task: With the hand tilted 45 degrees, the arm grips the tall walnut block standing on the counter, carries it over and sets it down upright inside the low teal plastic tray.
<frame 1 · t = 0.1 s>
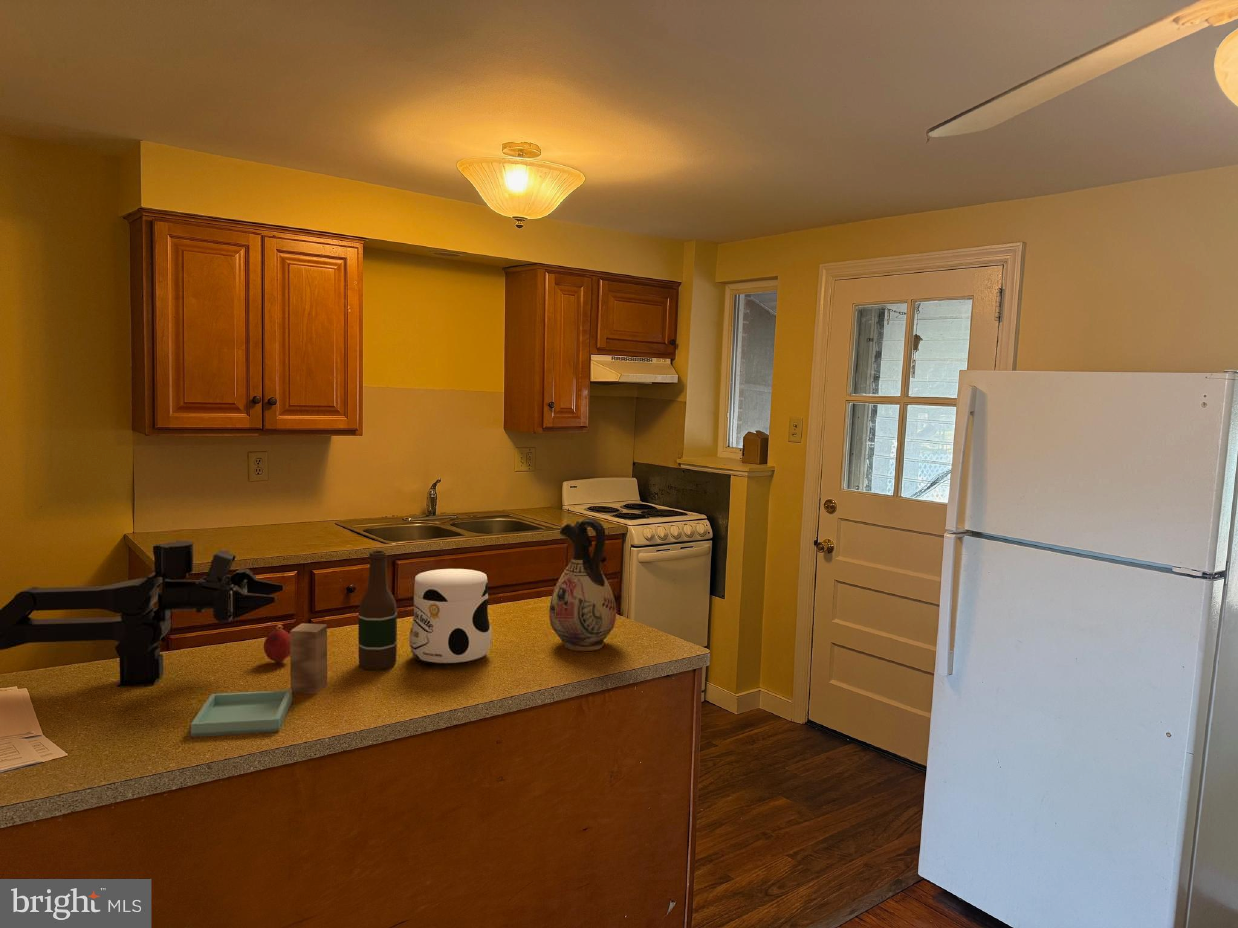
hand: (279, 593, 165), 17 cm above the counter, tool horizontal, fingers open, 9 cm apart
onion: (279, 663, 173), on the counter
teal tray: (244, 718, 145), on the counter
milk container: (450, 659, 179), on the counter
walnut block: (309, 688, 160), on the counter
ceramic jug: (584, 647, 190), on the counter
beer bottle: (377, 665, 174), on the counter
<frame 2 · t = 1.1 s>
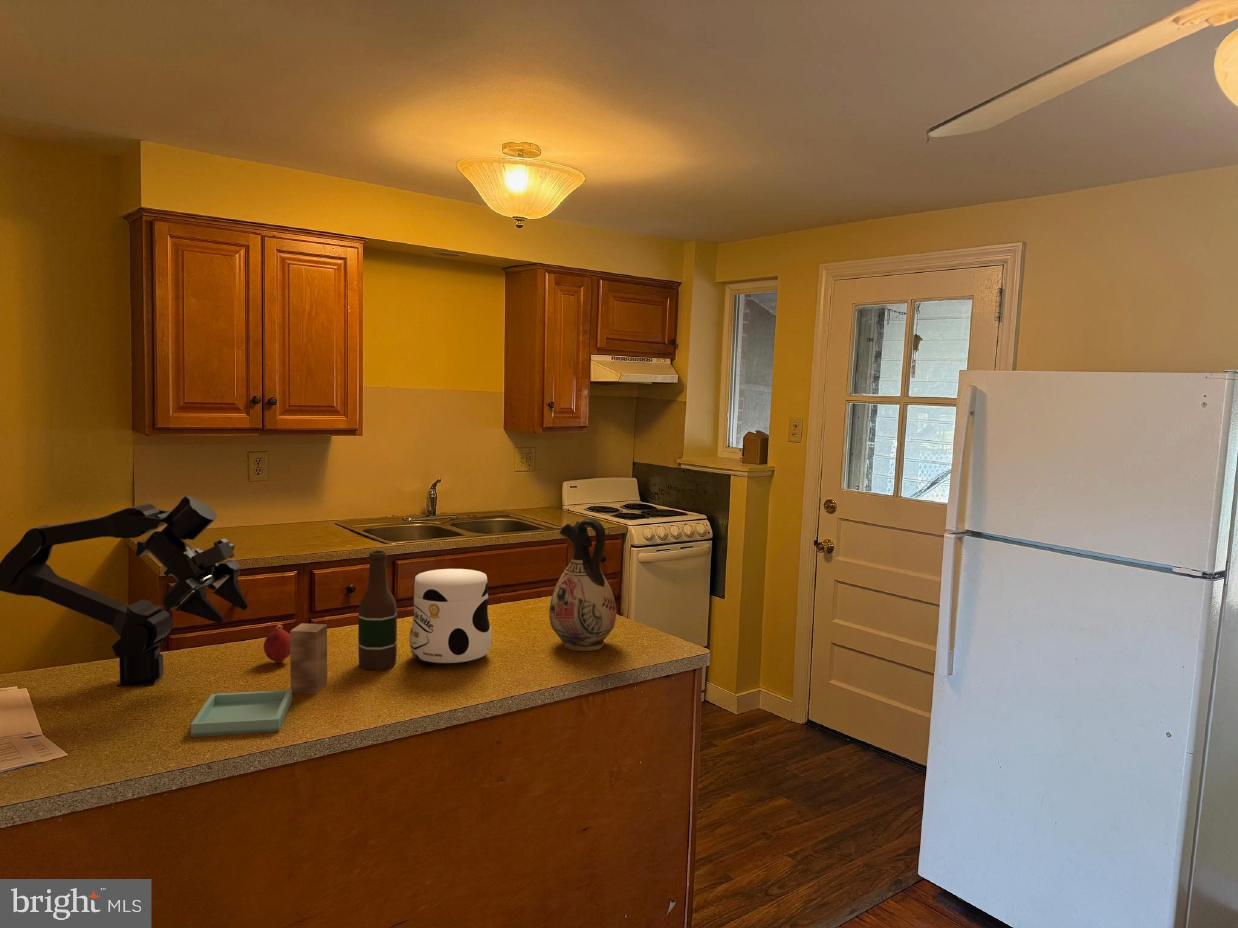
hand: (234, 614, 160), 14 cm above the counter, tool tilted 45°, fingers open, 9 cm apart
nothing on the counter moved.
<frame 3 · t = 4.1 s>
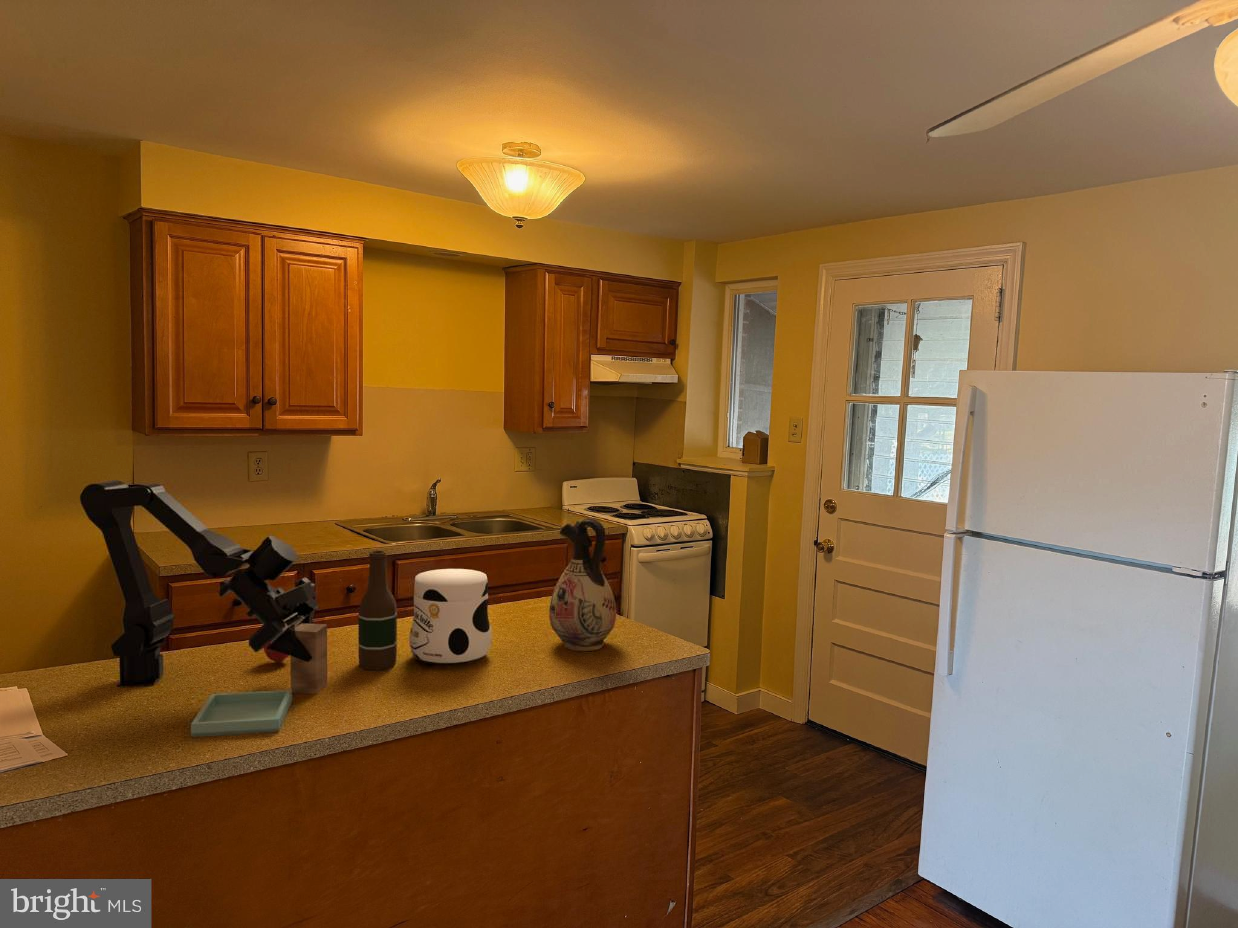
hand: (316, 655, 159), 7 cm above the counter, tool tilted 45°, fingers closed on walnut block, 5 cm apart
walnut block: (309, 688, 160), on the counter, touching gripper
everything else where it was.
when the fingers open (8 cm above the counter, at t = 7.7 s): walnut block drops 1 cm, resting on teal tray.
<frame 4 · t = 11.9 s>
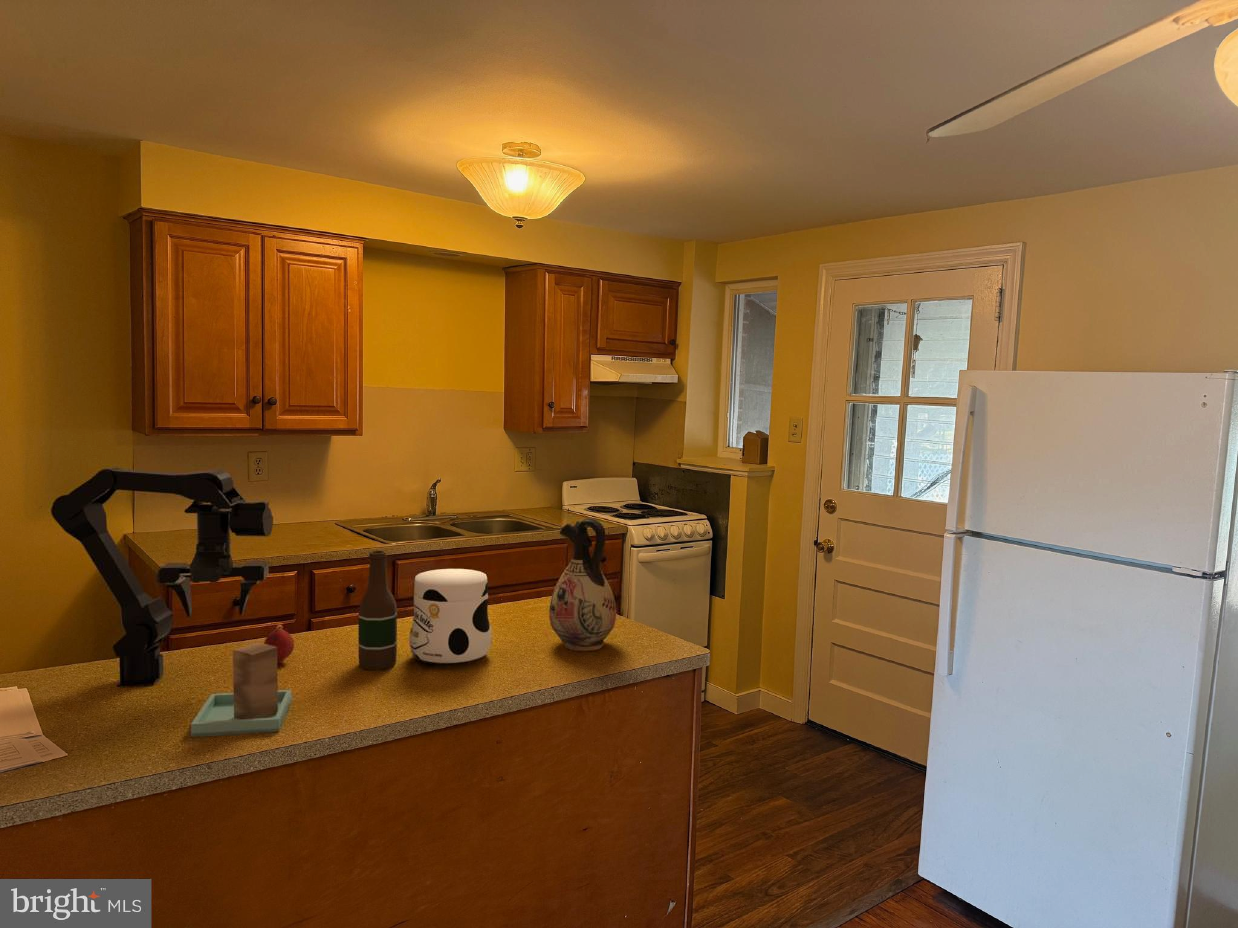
hand: (215, 615, 161), 13 cm above the counter, tool pointing down, fingers open, 9 cm apart
walnut block: (256, 715, 145), point 1 cm above the counter, touching teal tray
everything else where it was.
at the end: walnut block inside the target area on the teal tray (2.1 cm from its centre), point 0.6 cm above the teal tray's base; walnut block tilted 0°; the gripper is holding nothing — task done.
